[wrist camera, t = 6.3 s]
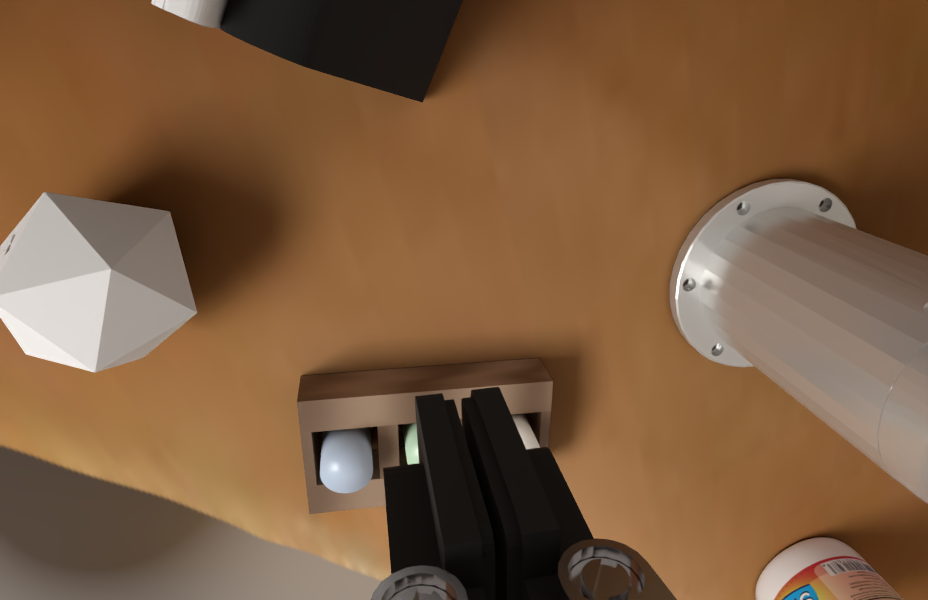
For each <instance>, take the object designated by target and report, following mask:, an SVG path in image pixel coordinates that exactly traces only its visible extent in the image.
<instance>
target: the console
mask: <svg viewBox="0 0 928 600" xmlns="http://www.w3.org/2000/svg"><path fill="white" fill-rule="evenodd" d="M492 387H499V388H500V390H501V392H502V395H503V397H504V399H505V401H506V404H507V406H508V408H509V411H510V413H511V414H522V413H527V420H528V422H529V424H530V427H531V429H532V431H533V433H534V435H535V437H536V439H537V441H538V444H539V446H540V447H547V448H548V446H549V432H550V418H551V405H552V391H553V380H552V378H551V377H550V375H549V373H548V372H547V370H546V368H545V367H544V365H543V363H542V362H541V360H540V358H532V359H518V360H505V361H492V362H478V363H465V364H452V365H438V366H425V367H412V368H398V369H385V370H372V371H358V372H345V373H332V374H318V375H305V376H301V378H300V385H299V392H298V399H297V405H298V414H299V423H300V432H301V441H302V450H303V459H304V469H305V478H306V487H307V496H308V505H309V514H315V513H324V512H333V511H342V510H351V509H361V508H370V507H379V506H386V499H385V487H384V474H383V468H386V467H394V466H401V465H408V463H407V458H406V451H405V447H399V440H398V425H399V424H410V423H416V411H415V396H421V395H430V394H439V393H442V394H443V397H444V400H451V399H454V401H455V404H456V408H457V411H458V415H459V418H460V421H461V425H462V412H461V399H462V398H468V397H470V395H471V390H474V389H483V388H492ZM376 426H377V438H378V450H372V460H373V475H372V478H371V480H370V481H369V483H368V484H367V485H366V486H365V487H363V488H362V489H360V490H358V491H356V492H352V493H338V492H334V491H332V490H330V489H328V488H327V487H326V486H325V485H324V484H323V482H322V481H321V478H320V462H321V455H319V451H318V441H317V432H320V431H331V430H343V429H354V428H365V427H376Z"/></svg>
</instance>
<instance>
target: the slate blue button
mask: <svg viewBox="0 0 928 600" xmlns="http://www.w3.org/2000/svg"><path fill="white" fill-rule="evenodd" d="M372 475H373V460H372V442H371V431H370V429H369V427H365V428H354V429H343V430H331V431H323V434H322V447H321V462H320V478H321V481H322V482H323V484H324V485H325V486H326V487H327V488H328V489H330V490H332V491H334V492H338V493H352V492H356V491H358V490H360V489H362V488H363V487H365V486H366V485H367V484H368V483H369V481H370V480H371V478H372Z"/></svg>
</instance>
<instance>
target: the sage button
mask: <svg viewBox="0 0 928 600" xmlns="http://www.w3.org/2000/svg"><path fill="white" fill-rule="evenodd" d="M402 429H403V436H404V443H405V451H406V458H407V463H408V465H409V464H417V463H419V455H418V440H417V425H416V423H410V424H402Z"/></svg>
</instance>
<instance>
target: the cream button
mask: <svg viewBox="0 0 928 600" xmlns="http://www.w3.org/2000/svg"><path fill="white" fill-rule="evenodd" d="M511 415H512V418H513V420H514V422H515V424H516V427H517V429H518V431H519V434H520V436H521V438H522V441H523V443H524V445H525V447H526V449H533V448H540V446H539V444H538V441H537V439H536V437H535V435H534V433H533V431H532V429H531V427H530V424H529V422H528V420H527V418H526V416H525V414H524V413H522V414H511Z"/></svg>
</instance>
